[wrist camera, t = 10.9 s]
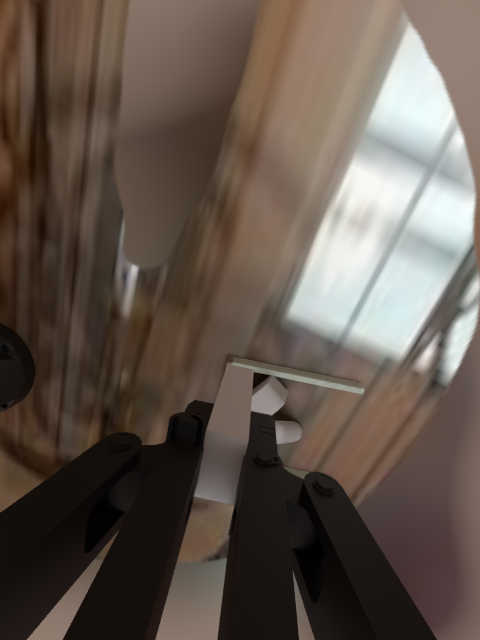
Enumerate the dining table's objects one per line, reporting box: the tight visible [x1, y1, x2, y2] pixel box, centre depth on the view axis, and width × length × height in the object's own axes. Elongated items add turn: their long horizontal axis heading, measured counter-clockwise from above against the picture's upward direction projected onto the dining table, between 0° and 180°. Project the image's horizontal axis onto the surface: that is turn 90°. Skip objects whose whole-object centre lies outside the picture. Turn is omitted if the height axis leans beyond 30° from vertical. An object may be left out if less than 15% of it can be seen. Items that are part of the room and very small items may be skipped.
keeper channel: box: [225, 356, 364, 479], centre depth 47 cm, size 20×18×3 cm
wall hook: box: [251, 375, 302, 444], centre depth 44 cm, size 8×10×10 cm
